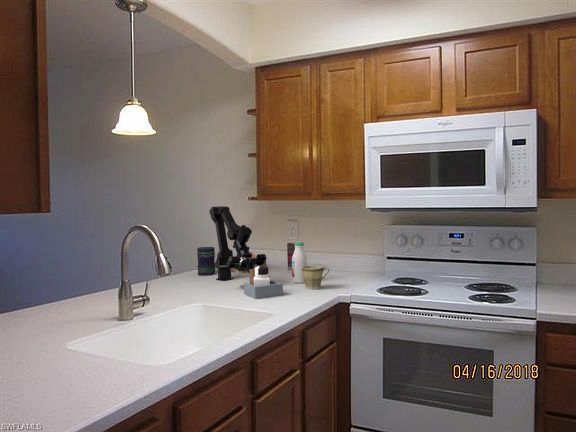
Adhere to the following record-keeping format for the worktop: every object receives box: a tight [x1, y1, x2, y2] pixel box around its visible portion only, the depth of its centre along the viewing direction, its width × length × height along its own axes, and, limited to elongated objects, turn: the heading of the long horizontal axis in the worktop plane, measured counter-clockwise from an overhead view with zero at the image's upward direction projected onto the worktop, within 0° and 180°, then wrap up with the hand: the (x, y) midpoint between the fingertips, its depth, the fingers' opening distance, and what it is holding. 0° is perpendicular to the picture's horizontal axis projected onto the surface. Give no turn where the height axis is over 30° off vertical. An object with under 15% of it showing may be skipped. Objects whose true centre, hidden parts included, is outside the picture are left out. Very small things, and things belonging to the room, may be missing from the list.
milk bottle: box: [291, 241, 308, 284], centre depth 229 cm, size 8×8×20 cm
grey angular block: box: [243, 279, 284, 300], centre depth 201 cm, size 11×13×5 cm
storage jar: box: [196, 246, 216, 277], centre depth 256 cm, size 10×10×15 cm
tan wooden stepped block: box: [249, 269, 255, 285], centre depth 208 cm, size 5×8×9 cm, turn 120°
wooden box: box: [225, 259, 267, 274], centre depth 272 cm, size 14×23×6 cm, turn 145°
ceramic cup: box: [302, 265, 330, 291], centre depth 213 cm, size 13×10×10 cm
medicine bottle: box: [254, 265, 271, 286], centre depth 203 cm, size 7×7×12 cm
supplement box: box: [286, 242, 295, 271], centre depth 265 cm, size 9×5×16 cm, turn 46°
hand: (252, 275), depth 210 cm, fingers closed
